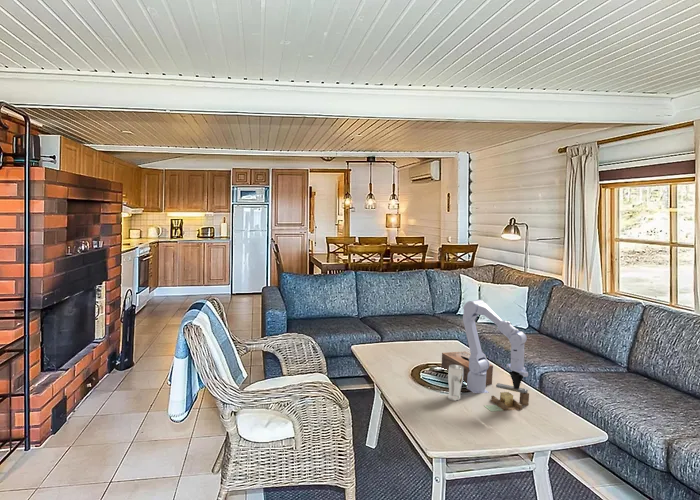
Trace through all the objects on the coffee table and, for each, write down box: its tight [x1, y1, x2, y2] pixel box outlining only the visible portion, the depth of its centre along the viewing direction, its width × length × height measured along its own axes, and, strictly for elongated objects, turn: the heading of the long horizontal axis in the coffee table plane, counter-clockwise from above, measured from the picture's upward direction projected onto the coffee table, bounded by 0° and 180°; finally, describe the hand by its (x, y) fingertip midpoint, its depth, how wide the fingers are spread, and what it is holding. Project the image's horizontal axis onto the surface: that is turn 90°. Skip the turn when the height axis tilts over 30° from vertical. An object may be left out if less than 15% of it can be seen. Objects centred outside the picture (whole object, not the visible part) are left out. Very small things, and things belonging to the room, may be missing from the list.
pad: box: [484, 404, 504, 412], centre depth 212 cm, size 6×6×1 cm
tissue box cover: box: [440, 351, 494, 386], centre depth 254 cm, size 26×14×10 cm, turn 19°
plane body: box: [490, 392, 530, 411], centre depth 217 cm, size 12×15×6 cm
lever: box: [495, 382, 529, 394], centre depth 221 cm, size 3×14×1 cm, turn 59°
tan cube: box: [499, 391, 514, 406], centre depth 217 cm, size 4×4×5 cm
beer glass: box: [447, 365, 464, 402], centre depth 222 cm, size 7×7×15 cm
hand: (516, 387), depth 220 cm, fingers closed, pressing on lever
